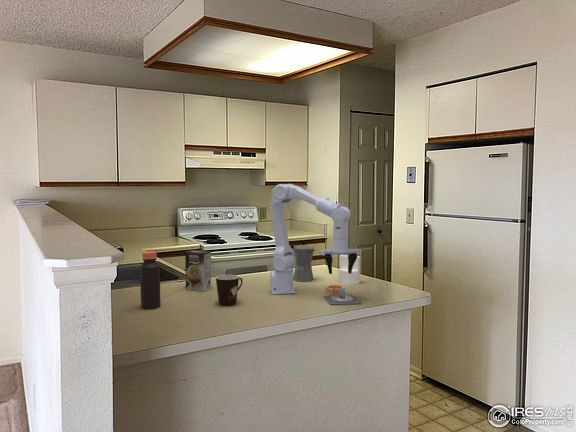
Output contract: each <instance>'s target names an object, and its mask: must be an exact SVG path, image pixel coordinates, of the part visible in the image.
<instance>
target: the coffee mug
mask: <svg viewBox="0 0 576 432" xmlns="http://www.w3.org/2000/svg"><path fill="white" fill-rule="evenodd" d="M215 281H216V282H215V283H216V290H217V298H218V299H217V300H218V305H219V306H223V307H232V306H235V305H237V300H238V293H239V292H238V291H239V290H240V289H241V287H242V285H243V278H242V277H240V276H239V275H236V274H222V275H217V276H215ZM239 281H240V282H239ZM239 283H240V285H239Z"/></svg>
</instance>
